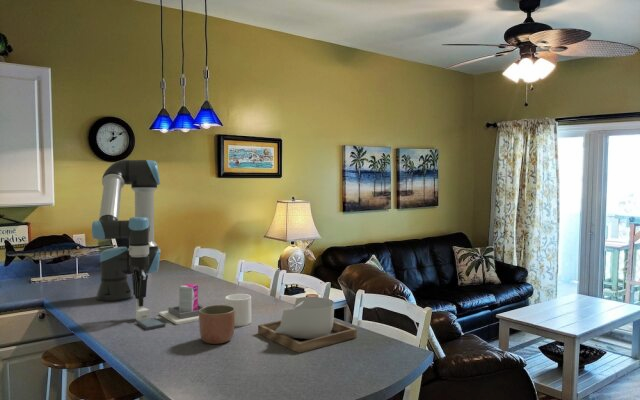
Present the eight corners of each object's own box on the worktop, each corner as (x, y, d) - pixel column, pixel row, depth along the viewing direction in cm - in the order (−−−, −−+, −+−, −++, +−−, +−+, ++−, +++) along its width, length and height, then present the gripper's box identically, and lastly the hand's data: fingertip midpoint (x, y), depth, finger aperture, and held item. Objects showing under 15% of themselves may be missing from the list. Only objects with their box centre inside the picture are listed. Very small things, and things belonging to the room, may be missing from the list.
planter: (217, 348, 165) (217, 316, 165) (191, 342, 172) (191, 310, 171) (242, 338, 176) (242, 308, 175) (216, 332, 182) (216, 303, 182)
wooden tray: (258, 333, 181) (258, 325, 181) (313, 321, 197) (313, 313, 197) (299, 352, 162) (299, 343, 161) (356, 337, 177) (356, 329, 177)
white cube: (135, 319, 198) (135, 309, 198) (145, 317, 201) (145, 307, 201) (139, 322, 195) (139, 311, 195) (149, 320, 197) (149, 310, 197)
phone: (136, 323, 193) (136, 320, 193) (154, 320, 197) (154, 317, 197) (146, 330, 184) (146, 327, 184) (165, 326, 189) (165, 324, 189)
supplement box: (192, 315, 201) (191, 287, 200) (178, 314, 202) (178, 286, 201) (198, 311, 206) (198, 284, 206) (185, 310, 208) (185, 283, 207)
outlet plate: (159, 314, 206) (159, 307, 205) (199, 307, 217) (199, 300, 217) (176, 324, 191) (176, 317, 191) (218, 316, 203) (218, 309, 203)
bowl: (328, 345, 168) (329, 310, 168) (273, 340, 171) (274, 306, 171) (336, 329, 187) (337, 297, 187) (287, 325, 191) (288, 294, 191)
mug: (256, 323, 194) (256, 297, 194) (234, 328, 187) (234, 301, 187) (238, 316, 203) (238, 291, 203) (217, 321, 197) (216, 295, 196)
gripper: (124, 254, 202) (125, 311, 203) (135, 258, 192) (135, 319, 193) (143, 252, 206) (143, 308, 208) (154, 256, 196) (154, 315, 197)
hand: (139, 313), depth 200 cm, fingers closed
